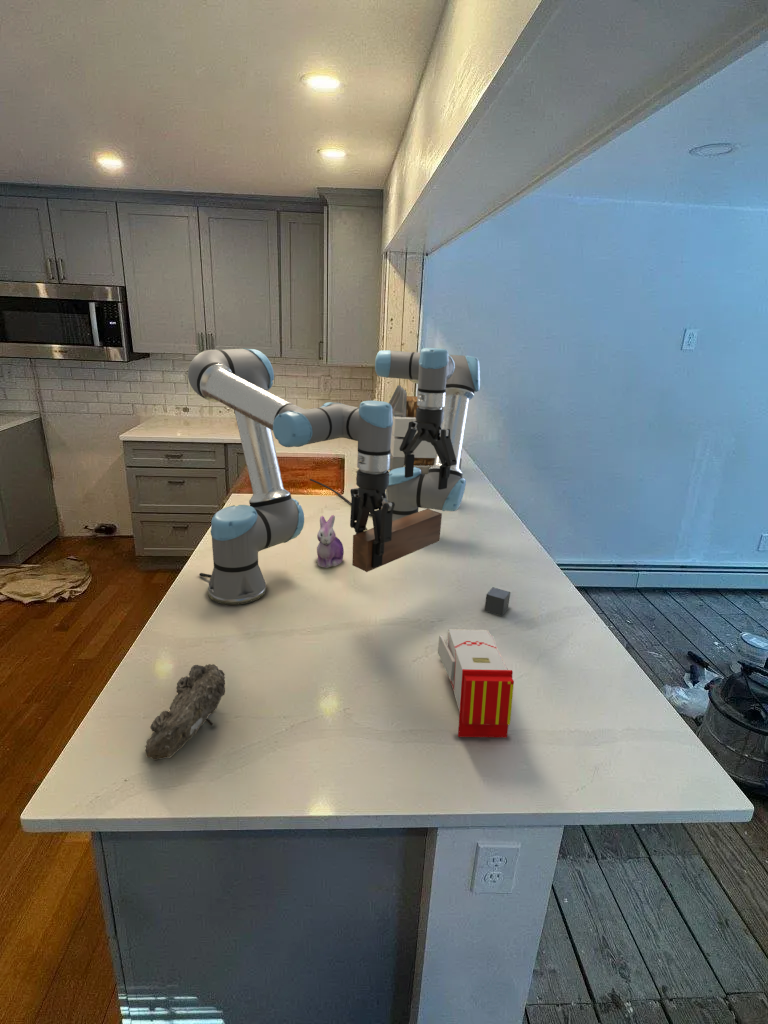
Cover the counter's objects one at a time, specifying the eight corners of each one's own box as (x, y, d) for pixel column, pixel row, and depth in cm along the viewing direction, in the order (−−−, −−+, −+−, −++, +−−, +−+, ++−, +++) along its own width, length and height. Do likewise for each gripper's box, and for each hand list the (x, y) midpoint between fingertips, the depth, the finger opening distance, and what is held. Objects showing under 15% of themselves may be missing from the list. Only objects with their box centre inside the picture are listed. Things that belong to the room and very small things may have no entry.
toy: (488, 613, 130) (523, 677, 101) (484, 667, 133) (517, 744, 104) (435, 612, 130) (455, 676, 101) (432, 666, 133) (451, 743, 103)
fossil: (174, 665, 116) (226, 633, 111) (207, 696, 118) (259, 665, 113) (119, 753, 96) (179, 718, 91) (161, 787, 99) (221, 755, 94)
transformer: (382, 463, 289) (386, 382, 275) (445, 464, 293) (451, 384, 279) (390, 482, 257) (394, 392, 243) (460, 483, 261) (468, 394, 247)
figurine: (321, 571, 169) (321, 524, 164) (309, 557, 177) (309, 512, 172) (350, 565, 173) (351, 520, 168) (337, 553, 182) (338, 509, 177)
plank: (352, 565, 138) (353, 535, 135) (425, 535, 157) (427, 508, 154) (366, 572, 135) (367, 541, 132) (439, 540, 154) (442, 513, 151)
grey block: (484, 610, 151) (486, 594, 149) (490, 603, 155) (492, 586, 153) (502, 616, 149) (504, 599, 147) (508, 608, 153) (510, 591, 151)
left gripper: (336, 462, 134) (334, 552, 142) (387, 482, 121) (381, 579, 129) (361, 458, 139) (357, 545, 147) (412, 477, 126) (405, 571, 134)
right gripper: (389, 401, 160) (386, 474, 167) (455, 416, 142) (448, 496, 150) (409, 399, 165) (405, 470, 172) (474, 413, 147) (467, 491, 154)
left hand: (368, 561), depth 138 cm, fingers closed on plank, 5 cm apart
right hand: (425, 482), depth 161 cm, fingers open, 13 cm apart
